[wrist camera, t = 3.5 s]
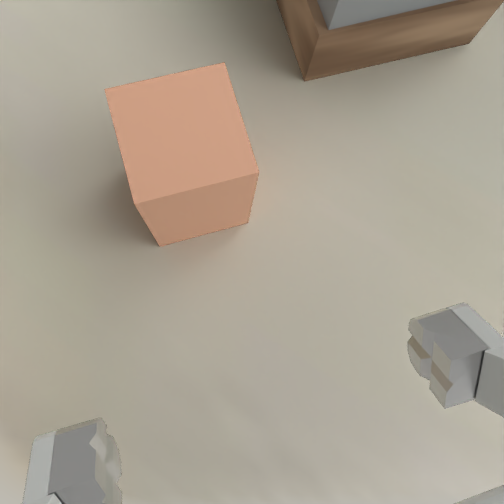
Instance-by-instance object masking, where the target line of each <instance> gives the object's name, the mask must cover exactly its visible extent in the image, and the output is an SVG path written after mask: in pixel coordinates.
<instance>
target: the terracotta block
mask: <svg viewBox="0 0 504 504" xmlns="http://www.w3.org/2000/svg"><path fill="white" fill-rule="evenodd" d="M105 93H106V97H107V101H108V105H109V109H110V113H111V117H112V120H113V124H114V128H115V132H116V136H117V140H118V144H119V147H120V151H121V155H122V159H123V163H124V167H125V171H126V174H127V178H128V182H129V186H130V190H131V194H132V198H133V202H134V205H135V206H136V208H137V210H138V211H139V213H140V215H141V216H142V218H143V220H144V221H145V223H146V225H147V226H148V228H149V230H150V231H151V233H152V234H153V236H154V238H155V239H156V241H157V243H158V244H159V246H164V245H168V244H171V243H175V242H179V241H183V240H186V239H190V238H194V237H197V236H201V235H205V234H208V233H212V232H216V231H220V230H223V229H227V228H231V227H234V226H238V225H242V224H245V223H248V221H249V216H250V212H251V207H252V203H253V198H254V194H255V189H256V185H257V180H258V176H259V170H258V166H257V163H256V160H255V157H254V154H253V151H252V147H251V144H250V141H249V138H248V135H247V132H246V128H245V125H244V122H243V119H242V116H241V113H240V110H239V106H238V103H237V100H236V97H235V94H234V91H233V87H232V84H231V81H230V78H229V75H228V72H227V68H226V65H225V62H223V63H219V64H215V65H210V66H206V67H201V68H197V69H192V70H188V71H183V72H179V73H174V74H170V75H165V76H161V77H156V78H152V79H147V80H143V81H138V82H134V83H129V84H125V85H121V86H116V87H112V88H107V89H105Z"/></svg>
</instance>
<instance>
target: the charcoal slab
mask: <svg viewBox="0 0 504 504" xmlns="http://www.w3.org/2000/svg"><path fill="white" fill-rule="evenodd" d="M451 1H455V0H317V2H318V4H319V7H320V10H321V12H322V15H323V17H324V20H325V23H326V25H327V28H328V30H331V29H336V28H340V27H344V26H349V25H353V24H357V23H361V22H366V21H370V20H374V19H378V18H383V17H387V16H391V15H396V14H400V13H404V12H408V11H413V10H417V9H421V8H426V7H430V6H434V5H438V4H443V3H447V2H451Z"/></svg>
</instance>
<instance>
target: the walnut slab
mask: <svg viewBox="0 0 504 504" xmlns="http://www.w3.org/2000/svg"><path fill="white" fill-rule="evenodd" d="M276 1H277V4H278V7H279V10H280V12H281V15H282V18H283V21H284V24H285V27H286V30H287V33H288V36H289V38H290V41H291V44H292V47H293V50H294V53H295V56H296V59H297V62H298V65H299V67H300V70H301V73H302V76H303V79H304V81H309V80H313V79H317V78H322V77H326V76H330V75H335V74H339V73H343V72H348V71H352V70H356V69H361V68H365V67H369V66H374V65H378V64H382V63H387V62H391V61H395V60H400V59H404V58H408V57H413V56H417V55H421V54H426V53H430V52H434V51H439V50H443V49H447V48H452V47H456V46H460V45H465V44H469V43H470V42H471V40H472V39H473V38H474V37H475V35H476V34H477V33H478V32H479V31H480V29H481V28H482V27H483V26H484V25H485V23H486V22H487V21H488V20H489V18H490V17H491V16H492V15H493V14H494V12H495V11H496V10H497V9H498V8H499V6H500V5H501V4H502V3H503V1H504V0H455V1H451V2H447V3H443V4H438V5H434V6H430V7H426V8H421V9H417V10H413V11H408V12H404V13H400V14H396V15H391V16H387V17H383V18H378V19H374V20H370V21H366V22H361V23H357V24H353V25H349V26H344V27H340V28H336V29H331V30H328V28H327V25H326V23H325V20H324V17H323V15H322V12H321V10H320V7H319V4H318V2H317V0H276Z"/></svg>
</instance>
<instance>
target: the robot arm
mask: <svg viewBox="0 0 504 504" xmlns="http://www.w3.org/2000/svg"><path fill="white" fill-rule="evenodd" d="M408 330H409V331H410V333H411V334H412V337H411V338H410V339H409V341H408V354H409V358H410V361H411V363H412V365H413V367H414V368H415V370H416V371H417V373H418V374H419V375H420V376H422V377H424V378H426V379H428V380H430V387H429V389H430V390H431V391H432V393H433V394H434V395H435V397H436V398H437V399H438V401H439V402H440V403H441V405H442V406H443V407H444V409H446V408H449V407H452V406H455V405H458V404H462V403H465V402H468V401H471V400H474V399H475V401H476V402H478V403H479V404H481V405H483V406H485V407H486V408H488V409H490V410H492V411H493V412H495V413H497V414H499V415H500V416H502V417H504V338H503V337H502V336H501V335H500V334H499V333H498V332H497V331H496V330H495V329H494V328H493V327H492V326H491V325H490V324H489V323H487V322H486V321H485V320H484V319H483V318H482V317H481V316H480V315H479V314H478V313H477V312H476V311H475V310H474V309H473V308H472V307H471V306H469V305H468V304H466V303H464V302H463V303H460V304H457V305H453V306H450V307H447V308H445V309H444V308H443V309H440V310H437V311H434V312H431V313H428V314H425V315H422V316H419V317H416V318H413V319H411V320H410V322H409V327H408ZM121 475H122V471H121V459H120V453H119V449H118V446H117V443H116V441H115V439H114V437H113V436H110V435H108V434H107V425H106V424H105V422H104V420H103V419H102V418H96V419H93V420H89V421H86V422H82V423H79V424H76V425H72V426H69V427H65V428H62V429H58V430H55V431H52V432H49V433H45V434H42V435H39V436H36V438H35V440H34V442H33V444H32V450H31V455H30V461H29V467H28V473H27V479H26V485H25V491H24V497H23V502H22V504H122V491H121V490H120V488H119V486H118V485H117V482H118V480H119V478H120V476H121ZM454 504H504V485H502V486H500V487H497V488H494V489H492V490H489V491H486V492H484V493H481V494H478V495H475V496H473V497H470V498H467V499H465V500H462V501H459V502H457V503H454Z"/></svg>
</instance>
